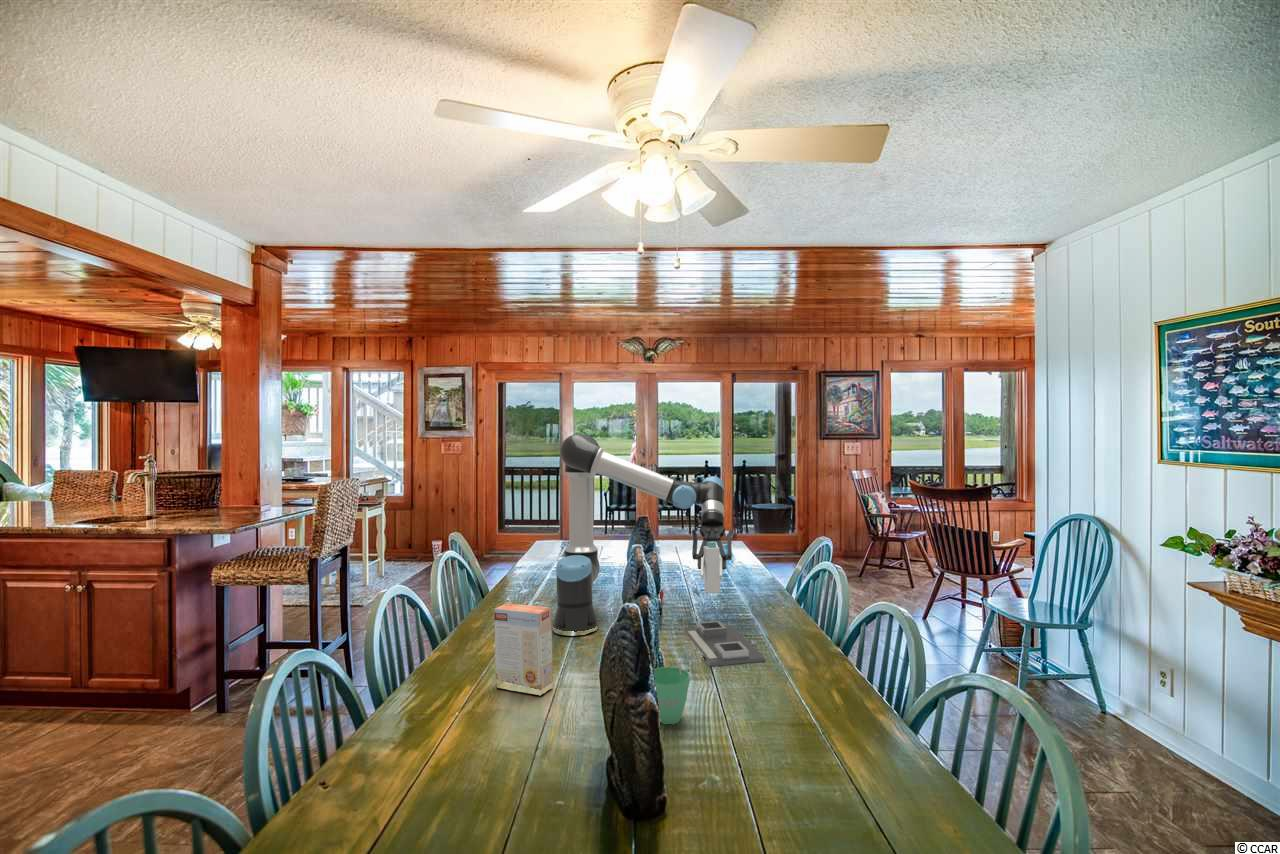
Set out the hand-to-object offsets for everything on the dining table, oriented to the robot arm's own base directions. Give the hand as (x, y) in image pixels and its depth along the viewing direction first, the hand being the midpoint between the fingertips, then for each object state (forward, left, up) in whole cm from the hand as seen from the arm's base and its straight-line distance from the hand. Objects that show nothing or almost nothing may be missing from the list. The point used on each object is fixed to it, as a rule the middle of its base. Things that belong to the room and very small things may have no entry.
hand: (711, 577), depth 190 cm
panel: (+1, -6, -19) cm, 20 cm away
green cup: (-27, -48, -19) cm, 58 cm away
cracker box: (-57, -24, -19) cm, 65 cm away
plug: (+1, +4, -5) cm, 7 cm away
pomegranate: (-11, +44, -20) cm, 50 cm away
